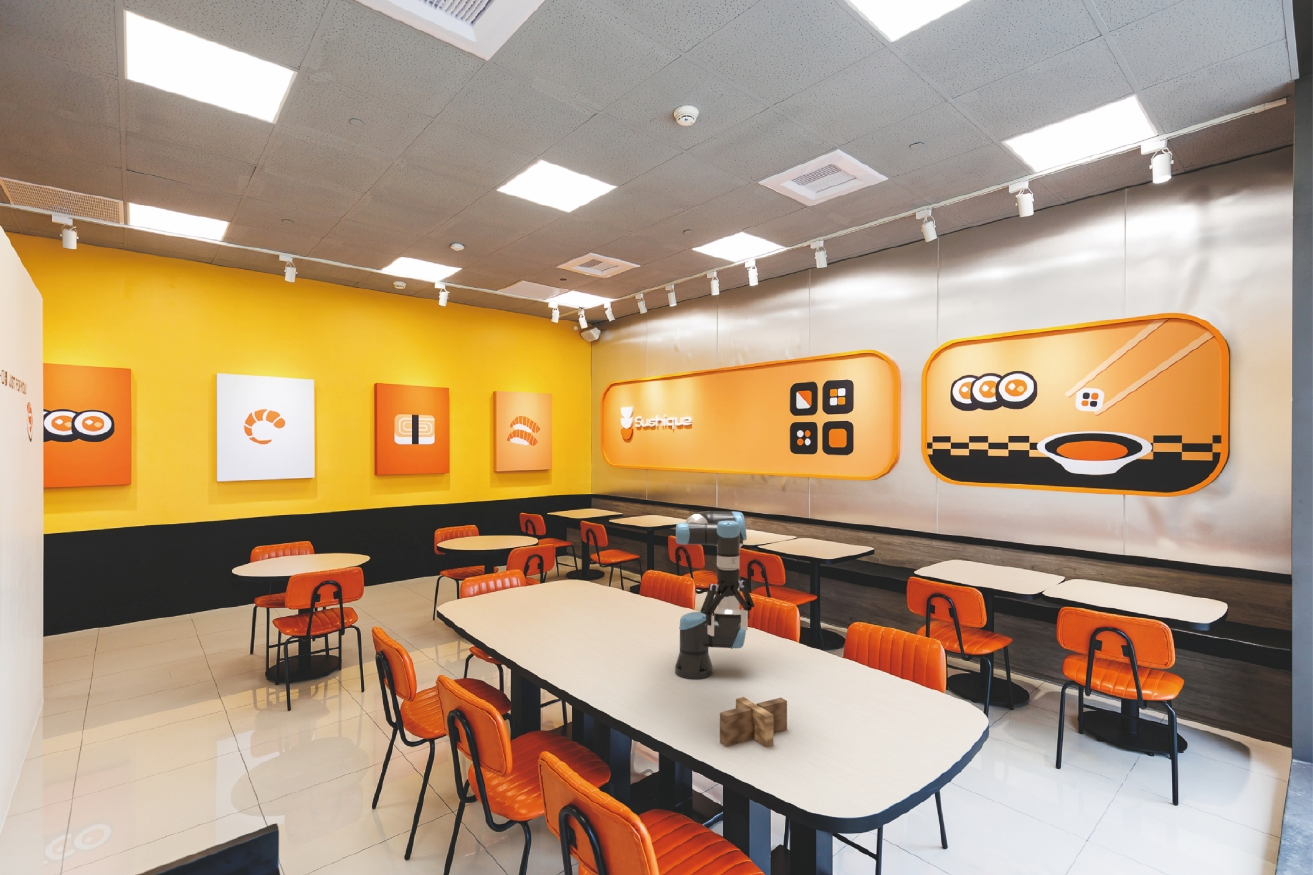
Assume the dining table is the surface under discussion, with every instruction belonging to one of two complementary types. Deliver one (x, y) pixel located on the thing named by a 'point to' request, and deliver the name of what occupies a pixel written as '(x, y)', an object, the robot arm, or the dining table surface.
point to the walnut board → (750, 721)
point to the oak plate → (759, 721)
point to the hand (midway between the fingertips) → (727, 632)
